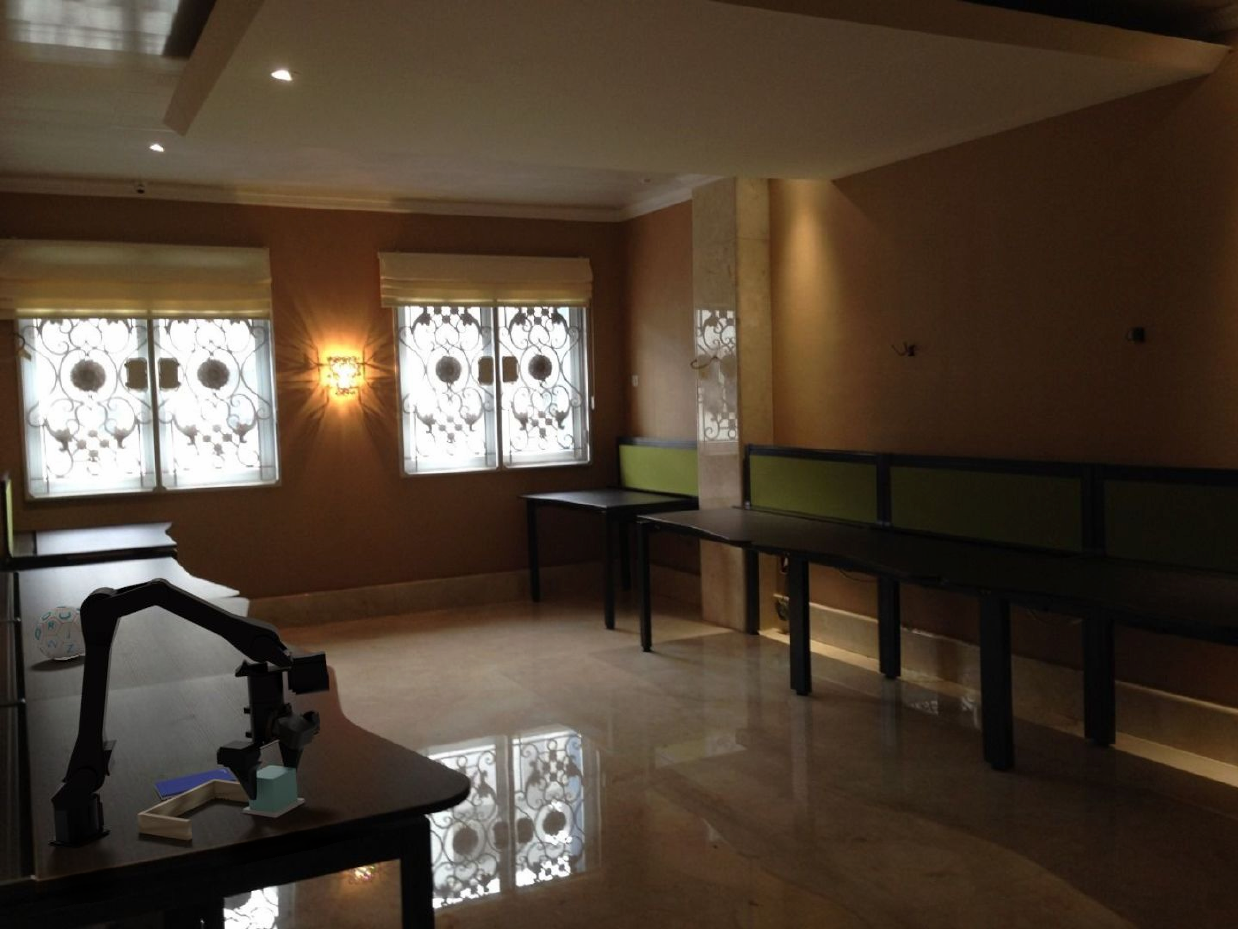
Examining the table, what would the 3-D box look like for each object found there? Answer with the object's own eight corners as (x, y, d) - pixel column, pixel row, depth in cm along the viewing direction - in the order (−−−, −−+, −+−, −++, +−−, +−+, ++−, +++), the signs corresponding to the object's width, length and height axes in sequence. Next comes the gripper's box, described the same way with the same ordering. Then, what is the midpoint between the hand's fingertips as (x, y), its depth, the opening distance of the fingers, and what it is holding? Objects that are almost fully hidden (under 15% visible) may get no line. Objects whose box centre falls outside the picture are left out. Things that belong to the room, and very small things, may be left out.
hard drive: (225, 766, 203) (154, 782, 196) (235, 778, 196) (161, 795, 189) (226, 775, 203) (154, 790, 196) (236, 787, 196) (162, 804, 189)
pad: (276, 817, 179) (275, 814, 179) (243, 812, 182) (243, 809, 182) (304, 802, 185) (304, 798, 185) (272, 797, 188) (272, 794, 188)
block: (275, 812, 180) (272, 779, 179) (249, 808, 182) (247, 776, 182) (297, 800, 185) (295, 768, 184) (272, 796, 187) (270, 765, 187)
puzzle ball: (42, 657, 309) (38, 604, 308) (100, 650, 314) (96, 599, 313) (31, 669, 295) (26, 614, 294) (92, 662, 299) (87, 608, 298)
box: (188, 840, 171) (186, 821, 171) (138, 832, 175) (137, 814, 175) (262, 802, 186) (261, 785, 186) (215, 795, 191) (214, 778, 190)
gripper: (264, 719, 171) (271, 816, 172) (341, 687, 188) (346, 776, 189) (210, 713, 175) (217, 808, 176) (289, 683, 192) (295, 770, 193)
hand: (272, 790), depth 183 cm, fingers open, 9 cm apart
